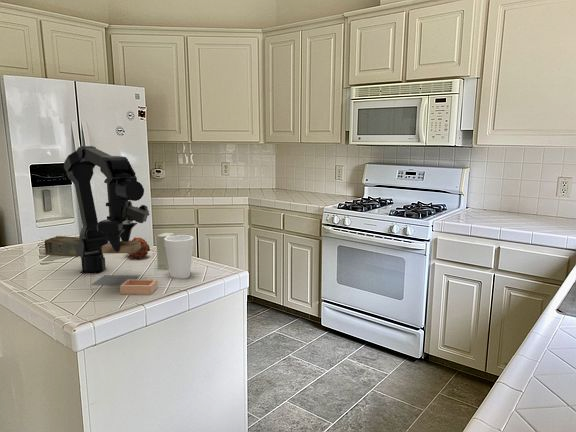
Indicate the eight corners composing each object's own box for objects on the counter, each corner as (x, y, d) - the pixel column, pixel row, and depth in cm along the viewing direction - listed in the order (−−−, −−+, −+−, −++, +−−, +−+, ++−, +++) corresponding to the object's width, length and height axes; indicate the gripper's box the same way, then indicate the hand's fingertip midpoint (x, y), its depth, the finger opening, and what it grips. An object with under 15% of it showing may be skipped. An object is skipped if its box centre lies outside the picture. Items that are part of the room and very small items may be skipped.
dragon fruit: (146, 264, 163) (127, 264, 170) (159, 247, 168) (140, 248, 175) (132, 249, 158) (113, 249, 165) (146, 232, 163) (127, 233, 170)
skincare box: (168, 271, 149) (167, 236, 147) (157, 270, 150) (155, 236, 148) (177, 266, 156) (175, 232, 154) (165, 265, 156) (164, 232, 154)
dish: (120, 295, 125) (119, 285, 125) (128, 288, 131) (127, 279, 131) (151, 296, 125) (150, 286, 125) (157, 289, 131) (157, 279, 131)
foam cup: (167, 281, 138) (166, 242, 136) (163, 273, 146) (162, 236, 144) (197, 278, 142) (196, 239, 140) (191, 270, 150) (190, 234, 148)
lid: (102, 253, 130) (101, 243, 130) (111, 248, 136) (110, 239, 136) (133, 253, 130) (132, 243, 129) (141, 248, 136) (140, 239, 136)
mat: (90, 286, 133) (90, 285, 133) (104, 276, 143) (104, 275, 143) (129, 286, 133) (129, 285, 133) (140, 276, 143) (140, 275, 143)
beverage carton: (88, 258, 166) (87, 241, 165) (44, 255, 170) (42, 239, 168) (100, 252, 174) (99, 236, 173) (58, 250, 177) (56, 235, 176)
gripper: (133, 202, 121) (136, 256, 124) (154, 195, 140) (157, 242, 142) (93, 202, 121) (98, 256, 124) (120, 195, 140) (123, 242, 142)
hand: (121, 248), depth 133 cm, fingers closed on lid, 6 cm apart
